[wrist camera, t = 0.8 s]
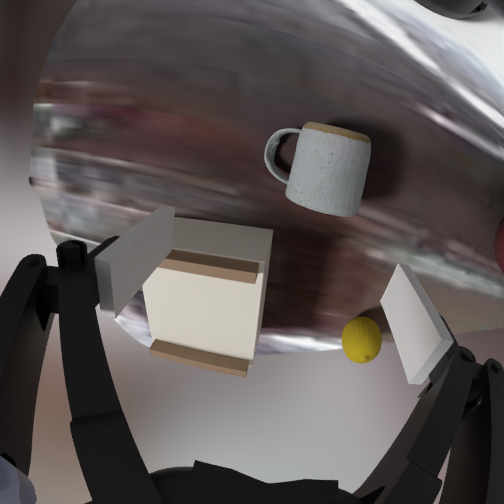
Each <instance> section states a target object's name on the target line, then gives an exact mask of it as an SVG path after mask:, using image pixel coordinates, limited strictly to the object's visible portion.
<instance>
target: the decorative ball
mask: <svg viewBox="0 0 504 504" xmlns="http://www.w3.org/2000/svg"><path fill="white" fill-rule="evenodd" d="M495 256H496V260H497V262H498V265H499V267H500V269H501V271H502V272H503V273H504V219H503V220H502V221H501V223H500V225H499V227H498V229H497V232H496V237H495Z"/></svg>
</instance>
